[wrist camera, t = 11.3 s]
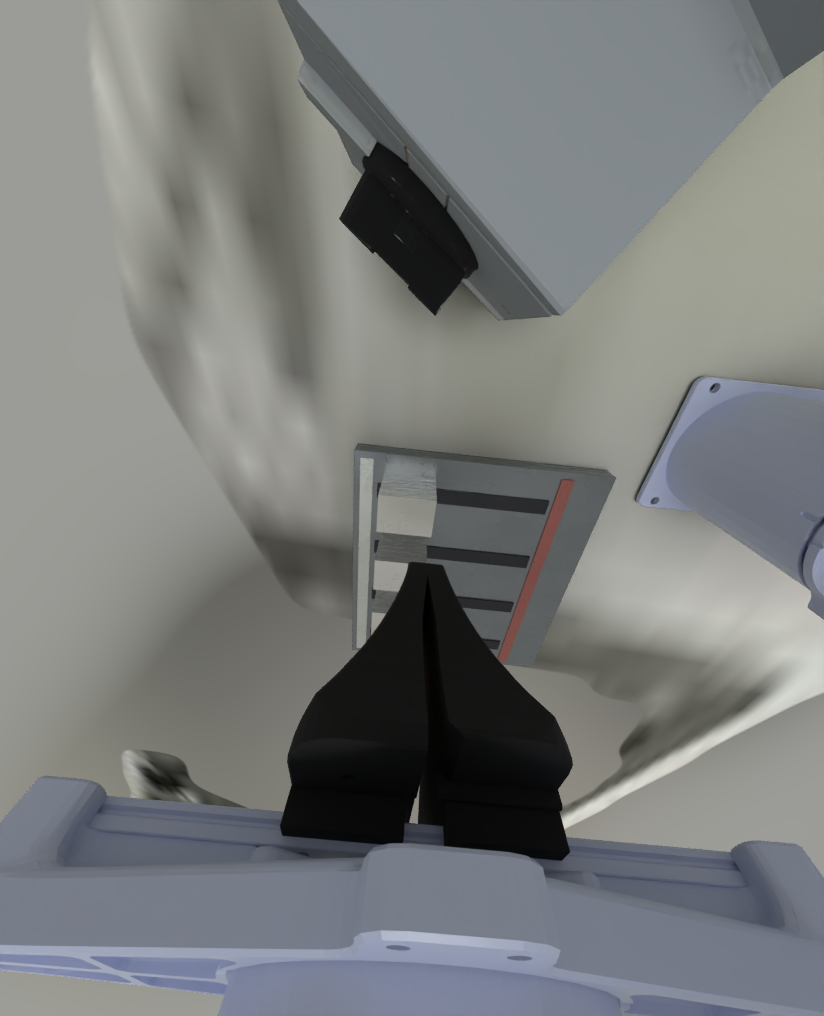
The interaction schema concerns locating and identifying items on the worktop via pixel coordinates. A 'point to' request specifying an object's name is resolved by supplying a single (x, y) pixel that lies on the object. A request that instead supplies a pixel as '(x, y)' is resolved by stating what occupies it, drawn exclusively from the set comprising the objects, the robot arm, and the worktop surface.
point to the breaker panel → (472, 537)
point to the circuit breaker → (532, 125)
